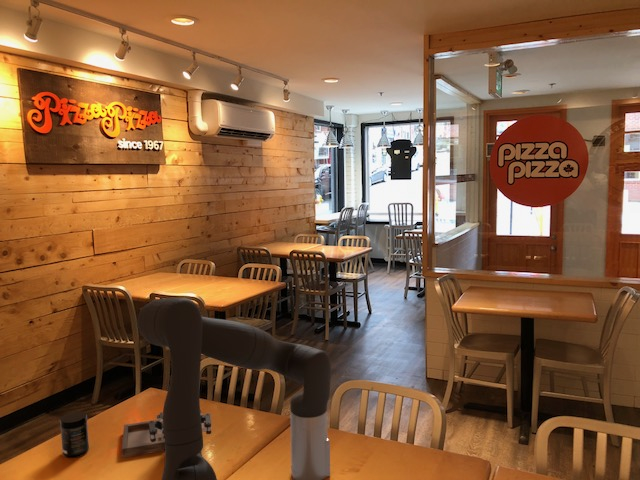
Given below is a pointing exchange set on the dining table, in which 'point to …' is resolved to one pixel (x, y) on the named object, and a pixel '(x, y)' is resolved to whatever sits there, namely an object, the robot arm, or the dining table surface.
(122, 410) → the dining table surface
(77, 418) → the supplement container
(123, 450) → the tray
